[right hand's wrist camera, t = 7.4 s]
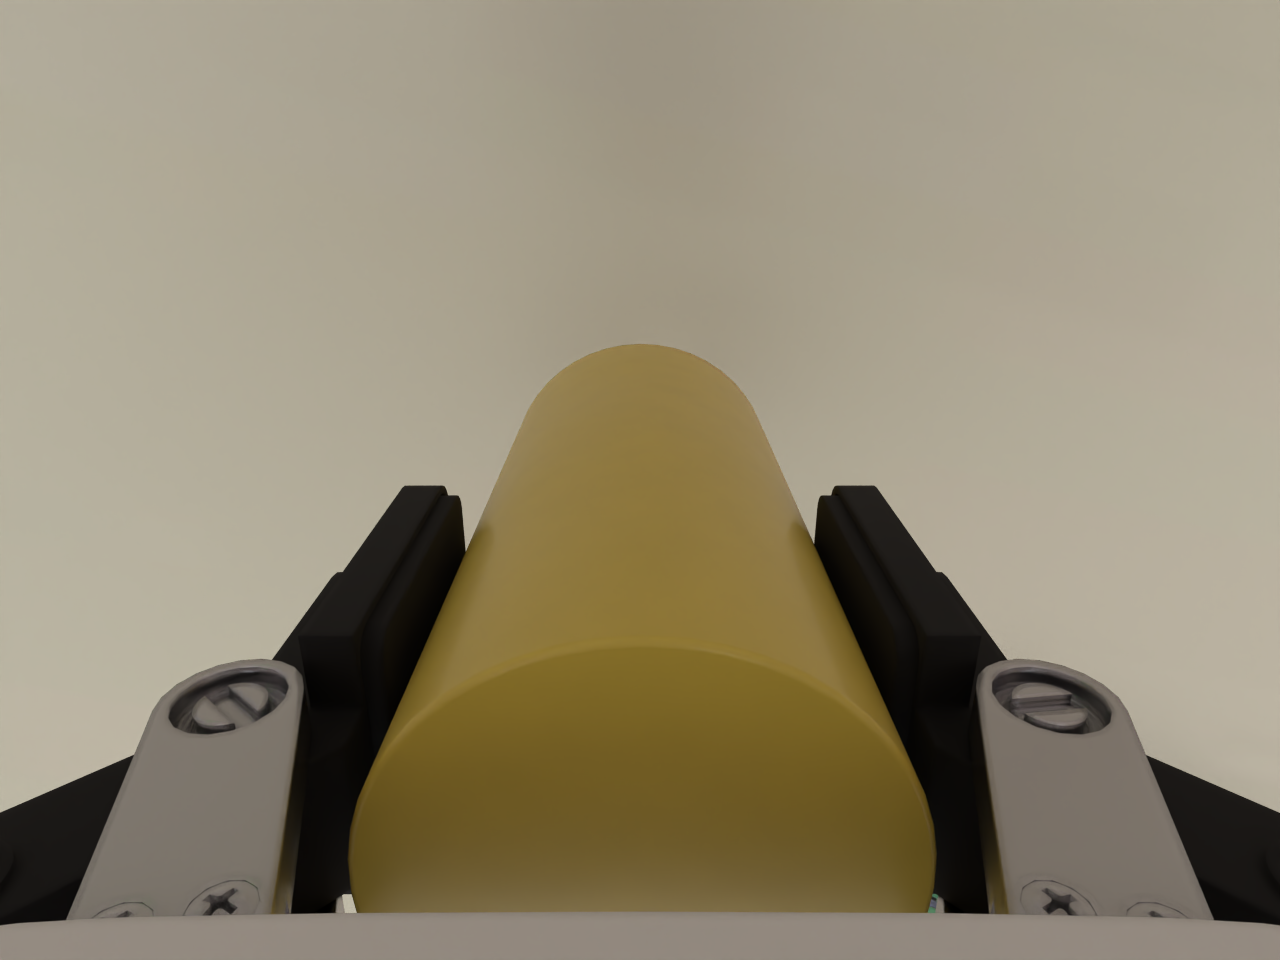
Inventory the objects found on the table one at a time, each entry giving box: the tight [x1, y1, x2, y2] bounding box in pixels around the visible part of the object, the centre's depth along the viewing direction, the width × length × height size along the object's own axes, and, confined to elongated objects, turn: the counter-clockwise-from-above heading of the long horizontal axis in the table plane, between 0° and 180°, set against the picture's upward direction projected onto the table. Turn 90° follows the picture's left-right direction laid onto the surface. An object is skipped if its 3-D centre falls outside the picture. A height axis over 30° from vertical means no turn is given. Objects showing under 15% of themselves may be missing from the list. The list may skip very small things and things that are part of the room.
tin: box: [348, 344, 937, 913], centre depth 12 cm, size 5×5×10 cm
